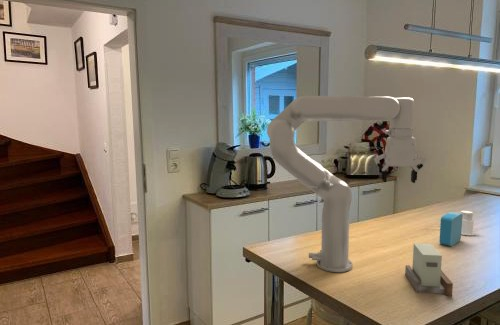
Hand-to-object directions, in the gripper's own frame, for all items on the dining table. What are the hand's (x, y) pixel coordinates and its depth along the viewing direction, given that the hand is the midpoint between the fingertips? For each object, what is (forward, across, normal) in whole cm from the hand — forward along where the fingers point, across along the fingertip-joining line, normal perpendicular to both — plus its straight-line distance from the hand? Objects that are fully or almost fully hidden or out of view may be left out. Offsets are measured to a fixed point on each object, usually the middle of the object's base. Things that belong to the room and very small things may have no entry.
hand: (398, 181), depth 135 cm
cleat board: (+30, +6, -14) cm, 34 cm away
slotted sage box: (+29, +6, -16) cm, 33 cm away
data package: (+30, +28, +26) cm, 48 cm away
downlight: (+30, +38, +39) cm, 62 cm away
